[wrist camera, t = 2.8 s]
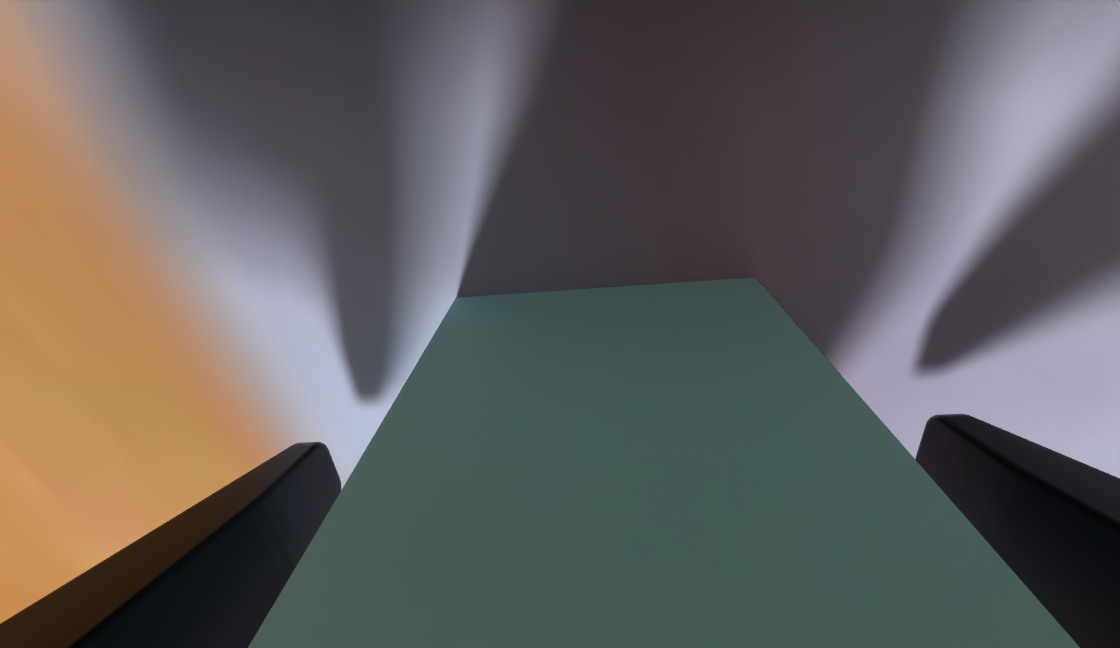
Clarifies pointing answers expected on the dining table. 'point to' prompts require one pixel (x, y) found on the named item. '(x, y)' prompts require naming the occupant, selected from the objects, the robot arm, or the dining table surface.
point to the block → (643, 495)
